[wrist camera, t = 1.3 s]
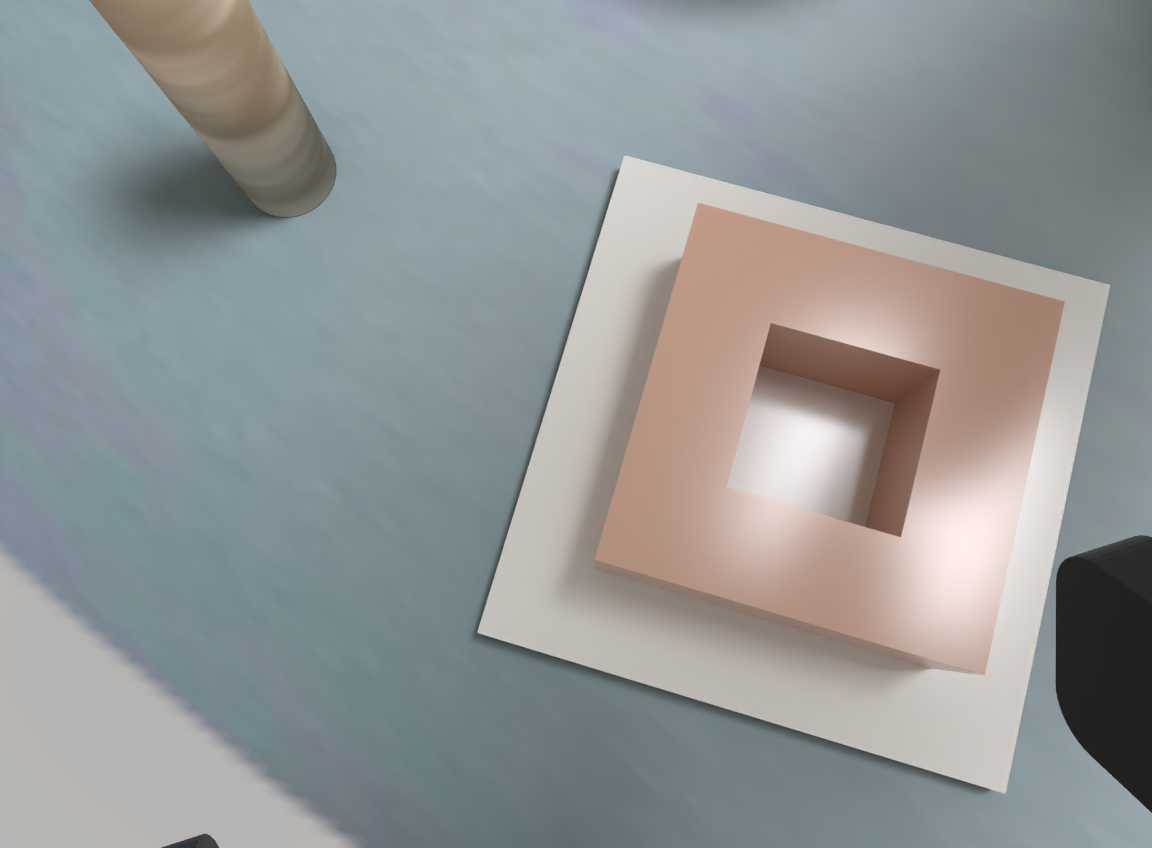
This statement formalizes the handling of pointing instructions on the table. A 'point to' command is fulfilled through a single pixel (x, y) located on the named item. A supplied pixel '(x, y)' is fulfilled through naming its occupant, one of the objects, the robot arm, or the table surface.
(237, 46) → the peg
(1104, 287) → the socket block
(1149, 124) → the table surface
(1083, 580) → the robot arm
